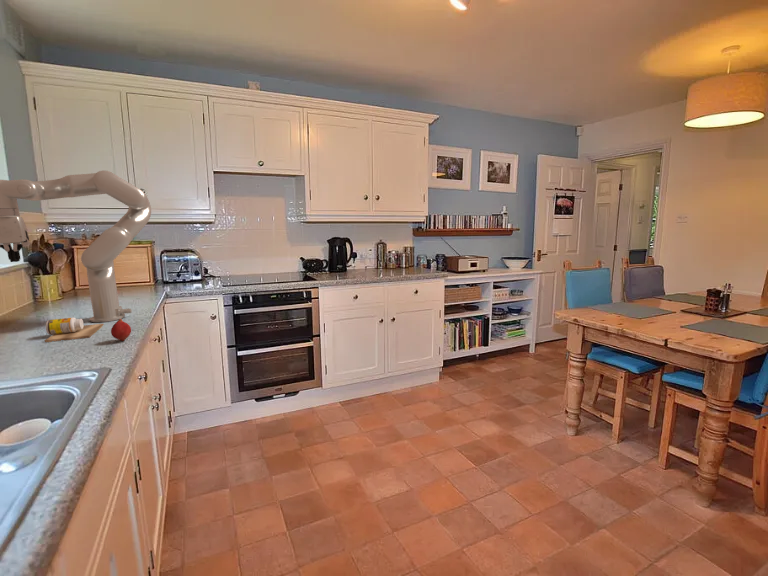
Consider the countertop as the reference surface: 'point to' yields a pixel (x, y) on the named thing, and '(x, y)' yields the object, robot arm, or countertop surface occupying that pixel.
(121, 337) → the onion
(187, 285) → the countertop surface
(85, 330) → the wooden cutting board
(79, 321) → the supplement bottle
